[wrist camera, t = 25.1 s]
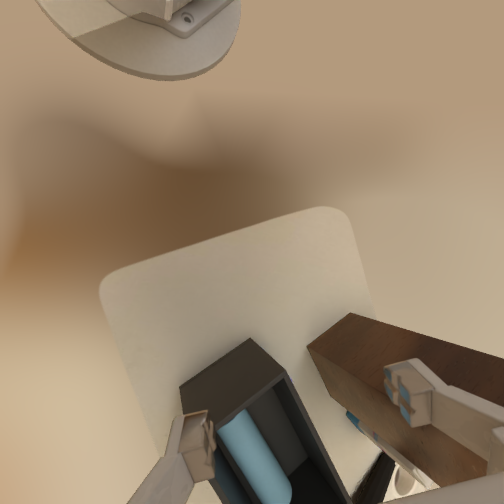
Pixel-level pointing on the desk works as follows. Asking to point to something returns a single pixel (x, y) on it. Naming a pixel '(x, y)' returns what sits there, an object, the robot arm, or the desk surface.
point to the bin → (263, 426)
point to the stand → (378, 402)
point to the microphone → (378, 481)
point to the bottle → (256, 459)
